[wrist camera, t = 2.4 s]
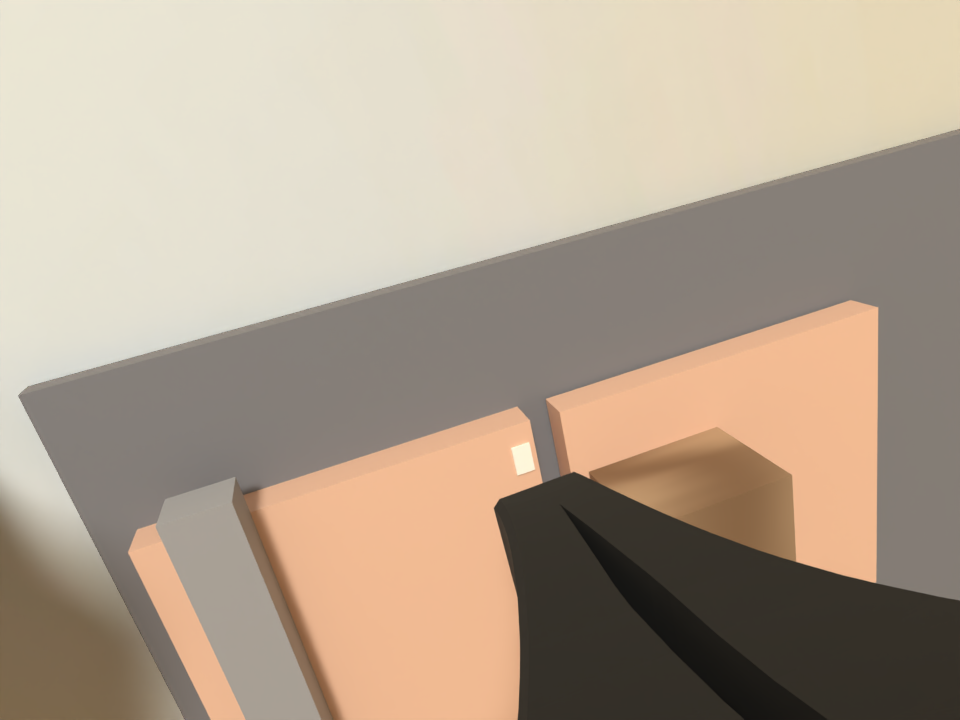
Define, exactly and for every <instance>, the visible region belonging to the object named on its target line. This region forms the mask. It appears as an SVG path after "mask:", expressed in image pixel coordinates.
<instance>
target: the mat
mask: <svg viewBox="0 0 960 720" xmlns="http://www.w3.org/2000/svg"><path fill="white" fill-rule="evenodd" d="M849 300H852V301H856V302H860V303H864V304H867V305H871V306H875V307H878V419H877V562H876V583H877V584H882V585H887V586H892V587H896V588H901V589H906V590H910V591H915V592H920V593H924V594H929V595H934V596H938V597H944V598H949V599H955V600H960V129H958V130H955V131H951V132H947V133H944V134H940V135H937V136H933V137H929V138H926V139H922V140H919V141H915V142H911V143H908V144H904V145H900V146H897V147H893V148H890V149H886V150H882V151H879V152H875V153H871V154H868V155H864V156H861V157H857V158H853V159H850V160H846V161H843V162H839V163H835V164H832V165H828V166H824V167H821V168H817V169H814V170H810V171H806V172H803V173H799V174H795V175H792V176H788V177H785V178H781V179H777V180H774V181H770V182H767V183H763V184H759V185H756V186H752V187H748V188H745V189H741V190H738V191H734V192H730V193H727V194H723V195H719V196H716V197H712V198H709V199H705V200H701V201H698V202H694V203H690V204H687V205H683V206H680V207H676V208H672V209H669V210H665V211H662V212H658V213H654V214H651V215H647V216H643V217H640V218H636V219H633V220H629V221H625V222H622V223H618V224H614V225H611V226H607V227H604V228H600V229H596V230H593V231H589V232H586V233H582V234H578V235H575V236H571V237H567V238H564V239H560V240H557V241H553V242H549V243H546V244H542V245H538V246H535V247H531V248H528V249H524V250H520V251H517V252H513V253H510V254H506V255H502V256H499V257H495V258H491V259H488V260H484V261H481V262H477V263H473V264H470V265H466V266H462V267H459V268H455V269H452V270H448V271H444V272H441V273H437V274H434V275H430V276H426V277H423V278H419V279H415V280H412V281H408V282H405V283H401V284H397V285H394V286H390V287H386V288H383V289H379V290H376V291H372V292H368V293H365V294H361V295H358V296H354V297H350V298H347V299H343V300H339V301H336V302H332V303H329V304H325V305H321V306H318V307H314V308H310V309H307V310H303V311H300V312H296V313H292V314H289V315H285V316H282V317H278V318H274V319H271V320H267V321H263V322H260V323H256V324H253V325H249V326H245V327H242V328H238V329H234V330H231V331H227V332H224V333H220V334H216V335H213V336H209V337H206V338H202V339H198V340H195V341H191V342H187V343H184V344H180V345H177V346H173V347H169V348H166V349H162V350H158V351H155V352H151V353H148V354H144V355H140V356H137V357H133V358H130V359H126V360H122V361H119V362H115V363H111V364H108V365H104V366H101V367H97V368H93V369H90V370H86V371H82V372H79V373H75V374H72V375H68V376H64V377H61V378H57V379H53V380H50V381H46V382H43V383H39V384H35V385H32V386H28V387H27V388H26V389H25V390H24V391H23V392H21V393H20V394H19V395H18V396H19V398H20V400H21V402H22V404H23V406H24V408H25V410H26V412H27V414H28V416H29V418H30V420H31V422H32V424H33V426H34V427H35V429H36V431H37V433H38V435H39V437H40V439H41V441H42V443H43V445H44V447H45V449H46V451H47V453H48V455H49V457H50V459H51V460H52V462H53V464H54V466H55V468H56V470H57V472H58V474H59V476H60V478H61V480H62V482H63V484H64V486H65V488H66V490H67V492H68V494H69V495H70V497H71V499H72V501H73V503H74V505H75V507H76V509H77V511H78V513H79V515H80V517H81V519H82V521H83V523H84V525H85V527H86V528H87V530H88V532H89V534H90V536H91V538H92V540H93V542H94V544H95V546H96V548H97V550H98V552H99V554H100V556H101V558H102V560H103V561H104V563H105V565H106V567H107V569H108V571H109V573H110V575H111V577H112V579H113V581H114V583H115V585H116V587H117V589H118V591H119V593H120V595H121V596H122V598H123V600H124V602H125V604H126V606H127V608H128V610H129V612H130V614H131V616H132V618H133V620H134V622H135V624H136V626H137V628H138V629H139V631H140V633H141V635H142V637H143V639H144V641H145V643H146V645H147V647H148V649H149V651H150V653H151V655H152V657H153V659H154V661H155V663H156V664H157V666H158V668H159V670H160V672H161V674H162V676H163V678H164V680H165V682H166V684H167V686H168V688H169V690H170V692H171V694H172V696H173V697H174V699H175V701H176V703H177V705H178V707H179V709H180V711H181V713H182V715H183V717H184V719H185V720H211V719H210V717H209V715H208V713H207V711H206V709H205V707H204V705H203V703H202V701H201V699H200V697H199V695H198V693H197V691H196V689H195V687H194V685H193V683H192V681H191V679H190V677H189V675H188V673H187V671H186V669H185V667H184V665H183V663H182V661H181V659H180V657H179V655H178V653H177V651H176V649H175V647H174V645H173V643H172V640H171V638H170V636H169V634H168V632H167V630H166V628H165V626H164V624H163V622H162V620H161V618H160V616H159V614H158V612H157V610H156V608H155V606H154V604H153V602H152V600H151V598H150V596H149V594H148V592H147V590H146V588H145V586H144V584H143V582H142V580H141V578H140V576H139V574H138V572H137V570H136V568H135V566H134V564H133V562H132V560H131V558H130V556H129V554H128V551H129V549H130V546H131V543H132V541H133V538H134V536H135V533H136V531H137V529H140V528H143V527H146V526H149V525H152V524H155V523H157V521H158V518H159V515H160V512H161V509H162V506H163V504H164V501H165V499H167V498H170V497H174V496H177V495H180V494H183V493H186V492H189V491H192V490H196V489H199V488H202V487H205V486H208V485H211V484H214V483H218V482H221V481H224V480H227V479H230V478H233V477H236V479H237V481H238V484H239V486H240V489H241V491H242V494H243V495H245V494H248V493H251V492H254V491H257V490H261V489H264V488H267V487H270V486H273V485H276V484H279V483H282V482H285V481H288V480H291V479H295V478H298V477H301V476H304V475H307V474H310V473H313V472H316V471H319V470H322V469H325V468H329V467H332V466H335V465H338V464H341V463H344V462H347V461H350V460H353V459H356V458H359V457H363V456H366V455H369V454H372V453H375V452H378V451H381V450H384V449H387V448H390V447H393V446H397V445H400V444H403V443H406V442H409V441H412V440H415V439H418V438H421V437H424V436H427V435H431V434H434V433H437V432H440V431H443V430H446V429H449V428H452V427H455V426H458V425H461V424H465V423H468V422H471V421H474V420H477V419H480V418H483V417H486V416H489V415H492V414H495V413H499V412H502V411H505V410H508V409H511V408H514V407H518V408H519V409H520V410H521V411H522V412H523V413H524V414H525V416H526V417H527V418H528V419H529V420H530V424H531V429H532V434H533V438H534V443H535V448H536V453H537V458H538V463H539V467H540V472H541V477H542V482H543V483H544V482H547V481H550V480H553V479H555V478H558V477H561V475H560V470H559V465H558V460H557V455H556V450H555V444H554V439H553V434H552V429H551V424H550V419H549V414H548V409H547V403H546V399H547V398H550V397H553V396H556V395H559V394H562V393H566V392H569V391H572V390H575V389H578V388H581V387H584V386H587V385H590V384H593V383H596V382H600V381H603V380H606V379H609V378H612V377H615V376H618V375H621V374H624V373H627V372H630V371H633V370H637V369H640V368H643V367H646V366H649V365H652V364H655V363H658V362H661V361H664V360H667V359H671V358H674V357H677V356H680V355H683V354H686V353H689V352H692V351H695V350H698V349H701V348H704V347H708V346H711V345H714V344H717V343H720V342H723V341H726V340H729V339H732V338H735V337H738V336H741V335H745V334H748V333H751V332H754V331H757V330H760V329H763V328H766V327H769V326H772V325H775V324H779V323H782V322H785V321H788V320H791V319H794V318H797V317H800V316H803V315H806V314H809V313H812V312H816V311H819V310H822V309H825V308H828V307H831V306H834V305H837V304H840V303H843V302H846V301H849Z"/></svg>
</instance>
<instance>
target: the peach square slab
mask: <svg viewBox="0 0 960 720" xmlns="http://www.w3.org/2000/svg"><path fill="white" fill-rule="evenodd" d="M546 403H547V409H548V414H549V419H550V424H551V429H552V434H553V439H554V444H555V450H556V455H557V460H558V465H559V470H560V475H561V476H563V475H566V474H569V473H572V472H576V473H578V474H581V475H583V476H585V477H587V478H589V479H591V480H594V481H596V482H598V483H600V484H602V485H604V486H606V487H608V488H610V489H612V490H614V491H616V492H619V493H621V494H623V495H625V496H627V497H629V498H631V499H633V500H636V501H638V502H640V503H642V504H644V505H646V506H649V507H651V508H653V509H655V510H658V511H660V512H662V513H664V514H667V515H669V516H671V517H674V518H676V519H678V520H681V521H683V522H685V523H688V524H690V525H693V526H695V527H698V528H700V529H703V530H705V531H708V532H710V533H713V534H716V535H718V536H721V537H724V538H726V539H729V540H732V541H735V542H737V543H740V544H743V545H746V546H748V547H751V548H754V549H757V550H760V551H763V552H766V553H769V554H772V555H775V556H778V557H781V558H784V559H788V560H791V561H795V562H798V563H802V564H805V565H809V566H812V567H816V568H819V569H823V570H826V571H830V572H833V573H837V574H841V575H844V576H849V577H853V578H857V579H861V580H865V581H869V582H873V583H876V562H877V419H878V307H875V306H871V305H867V304H864V303H860V302H856V301H852V300H849V301H846V302H843V303H840V304H837V305H834V306H831V307H828V308H825V309H822V310H819V311H816V312H812V313H809V314H806V315H803V316H800V317H797V318H794V319H791V320H788V321H785V322H782V323H779V324H775V325H772V326H769V327H766V328H763V329H760V330H757V331H754V332H751V333H748V334H745V335H741V336H738V337H735V338H732V339H729V340H726V341H723V342H720V343H717V344H714V345H711V346H708V347H704V348H701V349H698V350H695V351H692V352H689V353H686V354H683V355H680V356H677V357H674V358H671V359H667V360H664V361H661V362H658V363H655V364H652V365H649V366H646V367H643V368H640V369H637V370H633V371H630V372H627V373H624V374H621V375H618V376H615V377H612V378H609V379H606V380H603V381H600V382H596V383H593V384H590V385H587V386H584V387H581V388H578V389H575V390H572V391H569V392H566V393H562V394H559V395H556V396H553V397H550V398H547V399H546Z"/></svg>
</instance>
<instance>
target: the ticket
mask: <svg viewBox="0 0 960 720" xmlns="http://www.w3.org/2000/svg"><path fill="white" fill-rule="evenodd" d="M542 483H543V482H542V477H541V472H540V467H539V463H538V458H537V453H536V448H535V443H534V438H533V434H532V429H531V424H530V420H529V419H528V418H527V417H526V416H525V414H524V413H523V412H522V411H521V410H520V409H519V408H518V407H514V408H511V409H508V410H505V411H502V412H499V413H495V414H492V415H489V416H486V417H483V418H480V419H477V420H474V421H471V422H468V423H465V424H461V425H458V426H455V427H452V428H449V429H446V430H443V431H440V432H437V433H434V434H431V435H427V436H424V437H421V438H418V439H415V440H412V441H409V442H406V443H403V444H400V445H397V446H393V447H390V448H387V449H384V450H381V451H378V452H375V453H372V454H369V455H366V456H363V457H359V458H356V459H353V460H350V461H347V462H344V463H341V464H338V465H335V466H332V467H329V468H325V469H322V470H319V471H316V472H313V473H310V474H307V475H304V476H301V477H298V478H295V479H291V480H288V481H285V482H282V483H279V484H276V485H273V486H270V487H267V488H264V489H261V490H257V491H254V492H251V493H248V494H245V495H243V494H242V491H241V489H240V486H239V484H238V481H237V479H236V477H233V478H230V479H227V480H224V481H221V482H218V483H214V484H211V485H208V486H205V487H202V488H199V489H196V490H192V491H189V492H186V493H183V494H180V495H177V496H174V497H170V498H167V499H165V501H164V504H163V506H162V509H161V512H160V515H159V518H158V521H157V523H155V524H152V525H149V526H146V527H143V528H140V529H137V531H136V533H135V536H134V538H133V541H132V543H131V546H130V549H129V551H128V554H129V556H130V558H131V560H132V562H133V564H134V566H135V568H136V570H137V572H138V574H139V576H140V578H141V580H142V582H143V584H144V586H145V588H146V590H147V592H148V594H149V596H150V598H151V600H152V602H153V604H154V606H155V608H156V610H157V612H158V614H159V616H160V618H161V620H162V622H163V624H164V626H165V628H166V630H167V632H168V634H169V636H170V638H171V640H172V643H173V645H174V647H175V649H176V651H177V653H178V655H179V657H180V659H181V661H182V663H183V665H184V667H185V669H186V671H187V673H188V675H189V677H190V679H191V681H192V683H193V685H194V687H195V689H196V691H197V693H198V695H199V697H200V699H201V701H202V703H203V705H204V707H205V709H206V711H207V713H208V715H209V717H210V719H211V720H518V708H519V683H520V634H519V615H518V597H517V593H516V590H515V586H514V582H513V578H512V575H511V571H510V567H509V563H508V560H507V556H506V552H505V549H504V545H503V541H502V537H501V534H500V530H499V526H498V522H497V519H496V515H495V511H494V507H495V505H496V504H497V502H498V500H499V499H501V498H504V497H506V496H509V495H512V494H515V493H517V492H520V491H523V490H525V489H528V488H531V487H534V486H536V485H539V484H542Z"/></svg>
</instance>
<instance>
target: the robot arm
mask: <svg viewBox="0 0 960 720" xmlns="http://www.w3.org/2000/svg"><path fill="white" fill-rule="evenodd" d="M494 511H495V515H496V519H497V522H498V526H499V530H500V534H501V537H502V541H503V545H504V549H505V552H506V556H507V560H508V563H509V567H510V571H511V575H512V578H513V582H514V586H515V590H516V593H517V597H518V615H519V634H520V683H519V708H518V720H960V600H955V599H949V598H944V597H938V596H934V595H929V594H924V593H920V592H915V591H910V590H906V589H901V588H896V587H892V586H887V585H882V584H877V583H873V582H869V581H865V580H861V579H857V578H853V577H849V576H844V575H841V574H837V573H833V572H830V571H826V570H823V569H819V568H816V567H812V566H809V565H805V564H802V563H798V562H795V561H791V560H788V559H784V558H781V557H778V556H775V555H772V554H769V553H766V552H763V551H760V550H757V549H754V548H751V547H748V546H746V545H743V544H740V543H737V542H735V541H732V540H729V539H726V538H724V537H721V536H718V535H716V534H713V533H710V532H708V531H705V530H703V529H700V528H698V527H695V526H693V525H690V524H688V523H685V522H683V521H681V520H678V519H676V518H674V517H671V516H669V515H667V514H664V513H662V512H660V511H658V510H655V509H653V508H651V507H649V506H646V505H644V504H642V503H640V502H638V501H636V500H633V499H631V498H629V497H627V496H625V495H623V494H621V493H619V492H616V491H614V490H612V489H610V488H608V487H606V486H604V485H602V484H600V483H598V482H596V481H594V480H591V479H589V478H587V477H585V476H583V475H581V474H578V473H576V472H572V473H569V474H566V475H563V476H561V477H558V478H555V479H553V480H550V481H547V482H544V483H542V484H539V485H536V486H534V487H531V488H528V489H525V490H523V491H520V492H517V493H515V494H512V495H509V496H506V497H504V498H501V499H499V500H498V502H497V504H496V505H495V507H494Z"/></svg>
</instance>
